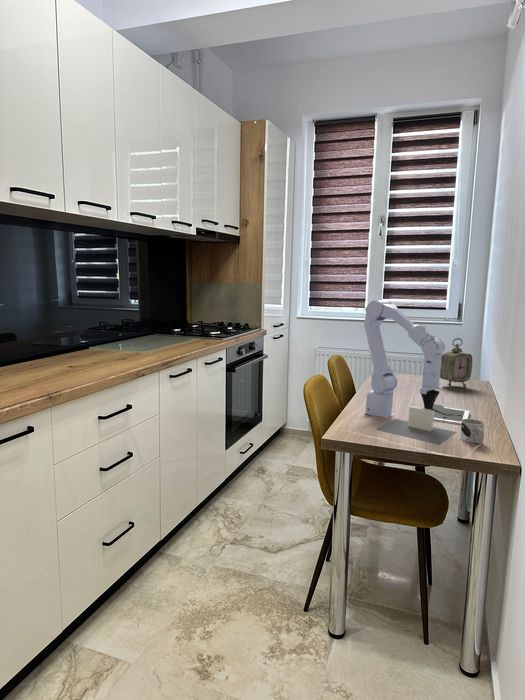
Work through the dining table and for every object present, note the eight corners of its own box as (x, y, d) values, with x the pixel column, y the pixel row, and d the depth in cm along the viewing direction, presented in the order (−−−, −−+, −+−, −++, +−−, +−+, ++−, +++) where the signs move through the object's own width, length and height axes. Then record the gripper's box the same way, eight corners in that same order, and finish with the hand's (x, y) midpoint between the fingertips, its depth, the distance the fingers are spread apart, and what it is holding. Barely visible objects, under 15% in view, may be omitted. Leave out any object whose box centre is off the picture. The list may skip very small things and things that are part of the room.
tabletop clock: (449, 390, 235) (454, 339, 231) (435, 386, 243) (439, 337, 239) (469, 388, 241) (474, 338, 238) (455, 384, 249) (459, 336, 246)
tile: (408, 426, 168) (409, 407, 167) (410, 425, 170) (411, 406, 169) (430, 431, 164) (432, 411, 163) (432, 430, 165) (434, 410, 164)
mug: (456, 437, 160) (458, 418, 159) (475, 438, 160) (477, 418, 159) (471, 448, 150) (473, 427, 149) (491, 448, 150) (493, 428, 149)
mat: (374, 430, 163) (374, 429, 163) (395, 420, 177) (396, 418, 177) (439, 446, 150) (439, 444, 150) (456, 433, 164) (457, 432, 164)
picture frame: (428, 409, 198) (420, 422, 179) (428, 403, 197) (421, 414, 179) (469, 415, 191) (465, 429, 172) (469, 408, 190) (466, 421, 172)
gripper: (435, 377, 161) (432, 416, 163) (449, 372, 172) (446, 408, 174) (415, 374, 165) (412, 412, 167) (430, 369, 177) (426, 405, 179)
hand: (428, 410), depth 171 cm, fingers closed
